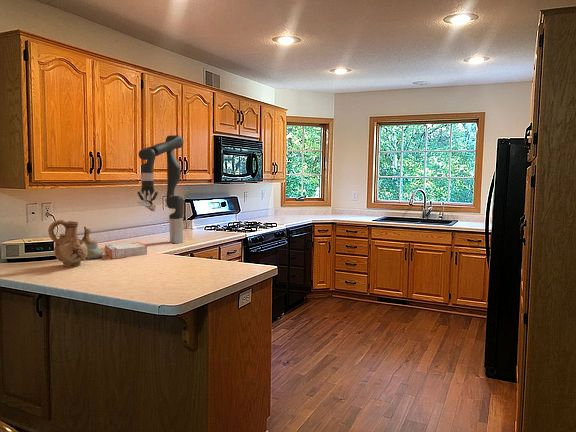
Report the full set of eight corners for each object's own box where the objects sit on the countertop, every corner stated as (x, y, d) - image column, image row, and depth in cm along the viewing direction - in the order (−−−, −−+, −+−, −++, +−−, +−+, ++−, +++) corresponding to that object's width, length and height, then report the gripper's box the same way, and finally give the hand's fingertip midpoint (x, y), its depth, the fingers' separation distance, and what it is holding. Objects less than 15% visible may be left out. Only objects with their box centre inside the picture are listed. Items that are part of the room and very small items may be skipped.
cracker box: (139, 250, 295) (104, 254, 282) (139, 241, 294) (104, 244, 281) (147, 256, 284) (111, 259, 271) (147, 246, 283) (111, 249, 270)
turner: (149, 211, 315) (149, 205, 316) (157, 211, 315) (158, 205, 316) (137, 203, 294) (138, 196, 295) (147, 203, 294) (147, 196, 294)
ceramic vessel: (80, 269, 242) (78, 221, 240) (43, 269, 243) (41, 220, 241) (95, 262, 261) (94, 217, 258) (61, 262, 261) (59, 217, 259)
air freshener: (80, 259, 270) (79, 242, 269) (86, 256, 278) (85, 240, 277) (98, 259, 270) (98, 242, 269) (104, 257, 278) (104, 240, 277)
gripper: (160, 180, 306) (160, 206, 308) (138, 180, 307) (139, 206, 308) (156, 180, 299) (156, 207, 300) (134, 180, 299) (135, 207, 301)
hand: (148, 206), depth 304 cm, fingers closed on turner, 2 cm apart
